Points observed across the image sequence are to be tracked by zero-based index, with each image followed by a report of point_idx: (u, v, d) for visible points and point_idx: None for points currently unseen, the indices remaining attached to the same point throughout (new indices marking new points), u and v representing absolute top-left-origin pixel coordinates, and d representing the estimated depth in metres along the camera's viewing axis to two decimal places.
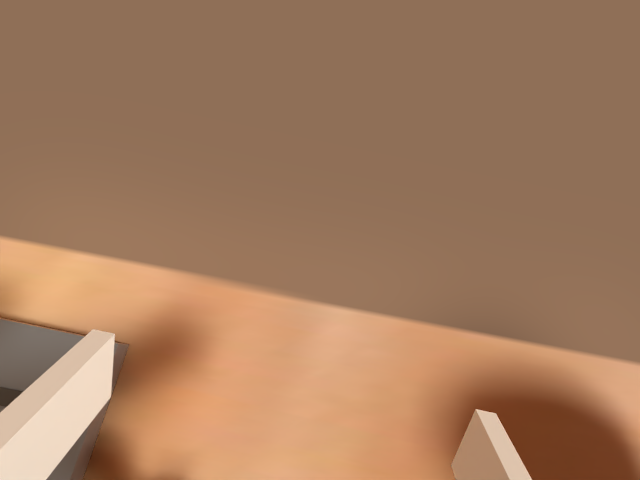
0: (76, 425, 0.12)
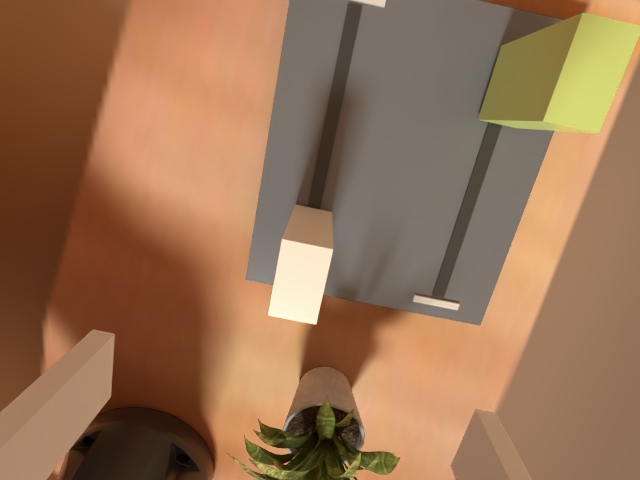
0: (76, 425, 0.12)
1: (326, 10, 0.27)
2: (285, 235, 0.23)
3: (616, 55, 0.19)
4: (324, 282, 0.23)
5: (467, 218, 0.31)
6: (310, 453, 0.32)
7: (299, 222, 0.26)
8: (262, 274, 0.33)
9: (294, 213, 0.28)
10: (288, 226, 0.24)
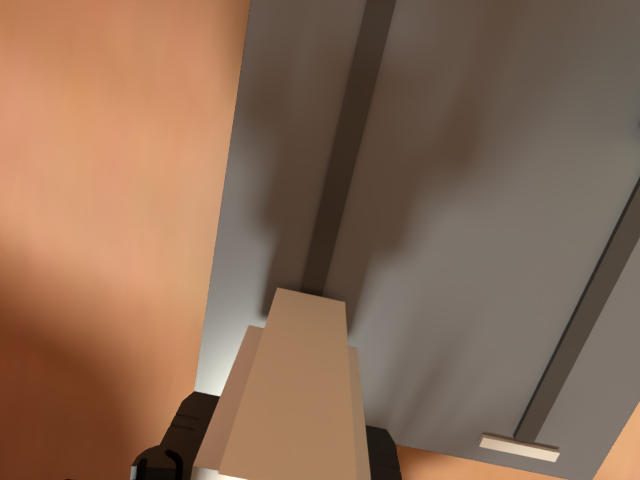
0: None
1: None
2: (232, 444, 0.09)
3: None
4: None
5: (592, 318, 0.17)
6: None
7: (277, 358, 0.12)
8: None
9: (271, 322, 0.14)
10: (249, 387, 0.10)
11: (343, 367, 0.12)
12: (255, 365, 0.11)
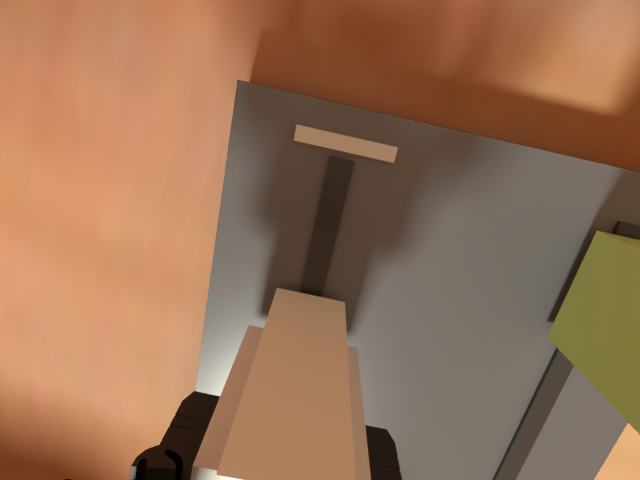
0: None
1: (292, 164, 0.15)
2: (231, 445, 0.09)
3: None
4: None
5: (519, 463, 0.19)
6: None
7: (276, 359, 0.12)
8: None
9: (271, 322, 0.14)
10: (248, 388, 0.10)
11: (342, 367, 0.12)
12: (254, 366, 0.11)
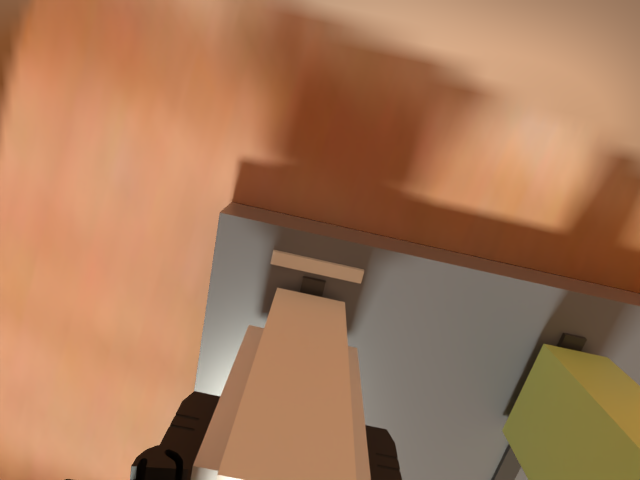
0: None
1: (270, 282, 0.17)
2: (232, 445, 0.09)
3: None
4: None
5: None
6: None
7: (277, 359, 0.12)
8: None
9: (271, 322, 0.14)
10: (249, 388, 0.10)
11: (343, 367, 0.12)
12: (255, 365, 0.11)
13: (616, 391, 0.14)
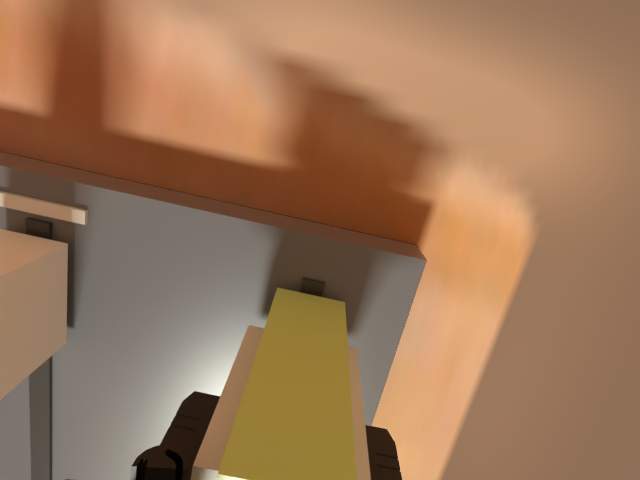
0: None
1: None
2: None
3: None
4: None
5: None
6: None
7: None
8: None
9: None
10: None
11: None
12: None
13: (305, 326, 0.14)
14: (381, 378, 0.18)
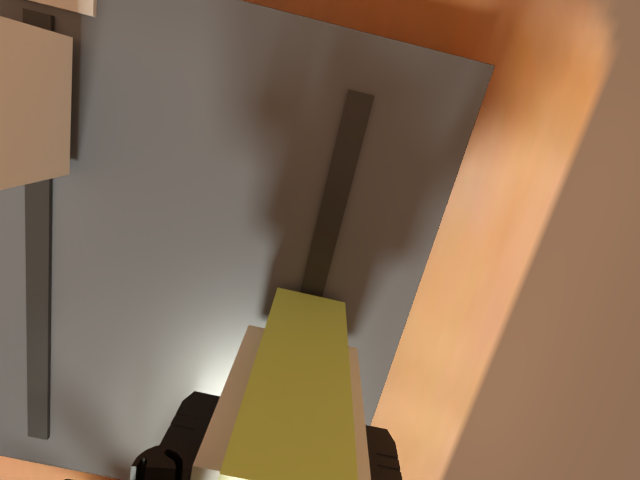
0: None
1: None
2: None
3: None
4: None
5: None
6: None
7: None
8: None
9: None
10: None
11: None
12: None
13: (306, 327, 0.14)
14: (433, 225, 0.16)
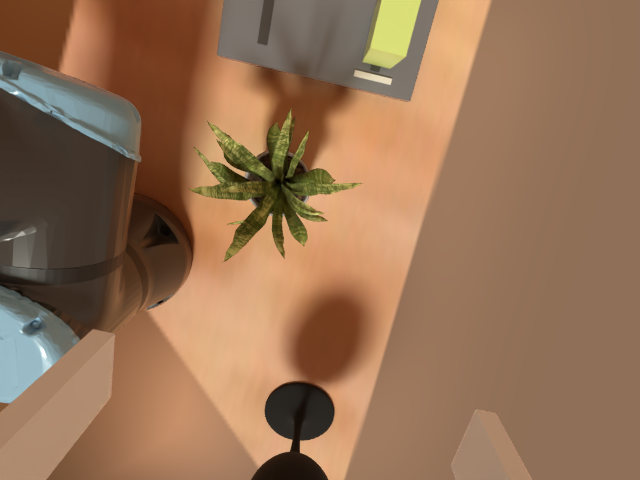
0: (76, 425, 0.12)
1: None
2: None
3: (410, 5, 0.30)
4: None
5: None
6: None
7: None
8: (230, 50, 0.40)
9: None
10: None
11: None
12: None
13: None
14: None
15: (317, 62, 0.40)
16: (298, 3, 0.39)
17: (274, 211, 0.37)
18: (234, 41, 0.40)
